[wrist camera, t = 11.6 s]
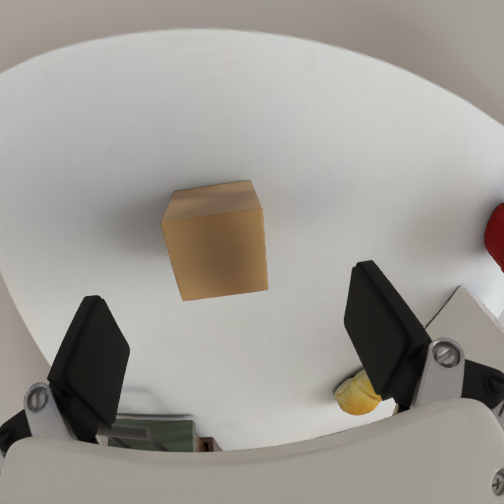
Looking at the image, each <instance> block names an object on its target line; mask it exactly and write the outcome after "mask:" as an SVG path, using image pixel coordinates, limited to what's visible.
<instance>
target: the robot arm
mask: <svg viewBox="0 0 504 504" xmlns="http://www.w3.org/2000/svg"><path fill="white" fill-rule="evenodd" d="M344 325H345V328H346V330H347V332H348V334H349V337H350V339H351V341H352V343H353V345H354V347H355V349H356V352H357V354H358V356H359V358H360V360H361V362H362V365H363V367H364V369H365V371H366V374H367V376H368V378H369V380H370V383H371V385H372V387H373V390H374V392H375V394H376V395H380V396H381V399H382V401H384V400H387V399H390V398H392V397H393V398H394V400H395V403H396V406H395V409H394V412H393V415H392V416H390V417H388V418H385V419H382V420H379V421H376V422H373V423H370V424H367V425H363V426H360V427H357V428H353V429H350V430H347V431H343V432H339V433H336V434H332V435H328V436H324V437H319V438H315V439H311V440H306V441H301V442H296V443H290V444H284V445H278V446H271V447H264V448H256V449H247V450H236V451H221V452H160V451H146V450H135V449H126V448H118V447H111V446H105V445H104V444H103V442H102V440H101V439H100V437H99V435H98V433H97V432H98V428H99V429H104V430H111V427H112V424H114V423H115V420H116V415H117V409H118V404H119V399H120V394H121V389H122V384H123V380H124V375H125V371H126V367H127V362H128V358H129V354H130V348H129V345H128V343H127V341H126V339H125V338H124V336H123V334H122V332H121V331H120V329H119V327H118V325H117V323H116V321H115V319H114V317H113V316H112V314H111V312H110V310H109V308H108V306H107V304H106V302H105V300H104V299H101V297H100V296H98V295H94V296H86V297H84V299H83V300H82V302H81V304H80V306H79V308H78V310H77V312H76V314H75V316H74V318H73V320H72V322H71V324H70V326H69V328H68V330H67V333H66V335H65V337H64V339H63V341H62V344H61V346H60V348H59V350H58V353H57V355H56V357H55V360H54V362H53V365H52V367H51V370H50V372H49V375H48V377H47V380H48V381H49V382H50V384H49V386H48V385H47V384H45V383H42V382H41V383H36V384H34V385H32V386H31V387H30V388H29V389H28V391H27V392H26V394H25V397H24V408H25V409H23V410H22V411H20V412H19V413H18V414H16V415H15V416H13V417H12V418H11V419H9V420H8V421H7V422H5V423H4V424H3V425H2V426H1V427H0V504H504V374H503V373H502V372H501V371H500V370H498V369H495V368H492V367H489V366H486V365H483V364H480V363H477V362H474V361H471V360H468V359H465V354H464V351H463V349H462V347H461V346H460V345H459V344H458V343H457V342H456V341H454V340H452V339H450V338H445V337H441V338H437V339H435V340H433V341H432V339H431V338H430V336H429V335H428V333H427V332H426V330H425V329H424V327H423V326H422V325H421V323H420V322H419V320H418V319H417V318H416V316H415V315H414V313H413V312H412V311H411V309H410V308H409V306H408V305H407V304H406V302H405V301H404V300H403V298H402V297H401V296H400V294H399V293H398V292H397V290H396V289H395V288H394V287H393V285H392V284H391V283H390V281H389V280H388V279H387V278H386V276H385V275H384V274H383V273H382V271H381V270H380V269H379V268H378V266H377V265H376V264H375V263H374V262H373V261H372V260H369V261H363V262H358V263H357V264H356V267H353V268H352V273H351V280H350V286H349V293H348V299H347V305H346V310H345V316H344Z"/></svg>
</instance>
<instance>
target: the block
mask: <svg viewBox="0 0 504 504" xmlns="http://www.w3.org/2000/svg"><path fill="white" fill-rule="evenodd" d="M161 228H162V232H163V236H164V239H165V243H166V247H167V250H168V254H169V258H170V261H171V265H172V268H173V271H174V275H175V278H176V282H177V285H178V288H179V291H180V294H181V298H182V300H183V301H187V300H196V299H204V298H212V297H220V296H228V295H235V294H242V293H249V292H256V291H263V290H268V276H267V262H266V248H265V234H264V220H263V209H262V207H261V204H260V202H259V199H258V197H257V195H256V192H255V190H254V187H253V185H252V183H251V181H250V180H249V181H241V182H233V183H225V184H218V185H211V186H204V187H197V188H191V189H185V190H179V191H175V192H174V194H173V196H172V198H171V200H170V203H169V205H168V207H167V210H166V212H165V214H164V217H163V219H162V221H161Z"/></svg>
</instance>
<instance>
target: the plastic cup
mask: <svg viewBox="0 0 504 504" xmlns="http://www.w3.org/2000/svg"><path fill="white" fill-rule="evenodd" d="M484 243H485V247H486V249H487V250H488V253H489V254H490V255H491V256H492V257H493V259H494V260H495V261H496V262H497V264H498V265H499V266H500V267H501V270H502V272H503V273H504V203H502V204H501V205H499V206H498V207H497V208H496V210H495V211H494V212H493V214H492V216H491V218H490V220H489V222H488V224H487V228H486V231H485V238H484Z"/></svg>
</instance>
